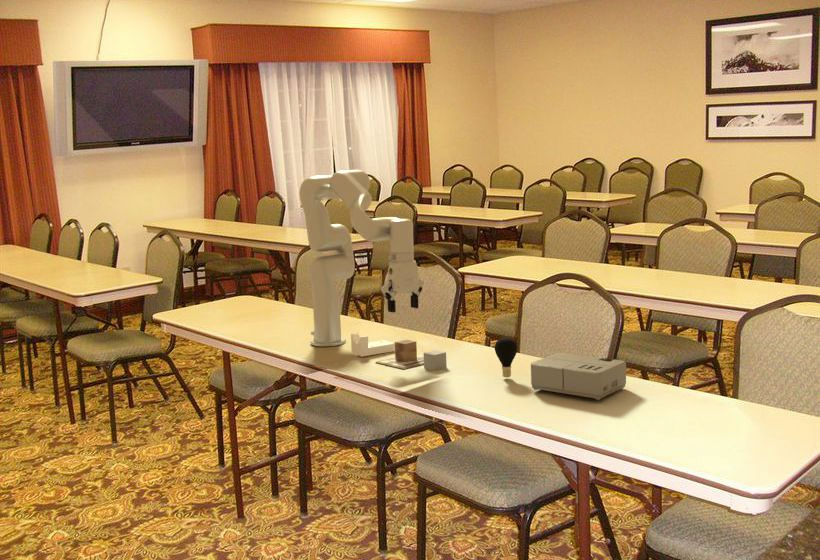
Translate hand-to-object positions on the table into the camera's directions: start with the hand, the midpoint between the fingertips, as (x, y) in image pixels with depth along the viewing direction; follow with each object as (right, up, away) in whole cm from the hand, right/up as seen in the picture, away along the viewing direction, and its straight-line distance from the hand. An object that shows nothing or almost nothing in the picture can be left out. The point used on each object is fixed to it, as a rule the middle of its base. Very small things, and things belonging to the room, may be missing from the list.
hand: (403, 309), depth 281 cm
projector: (+49, -21, -38) cm, 66 cm away
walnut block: (+1, -16, +2) cm, 17 cm away
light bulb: (+31, -19, -24) cm, 43 cm away
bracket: (-10, -16, +15) cm, 24 cm away
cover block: (+8, -15, -7) cm, 19 cm away
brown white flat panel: (+2, -17, +1) cm, 17 cm away
